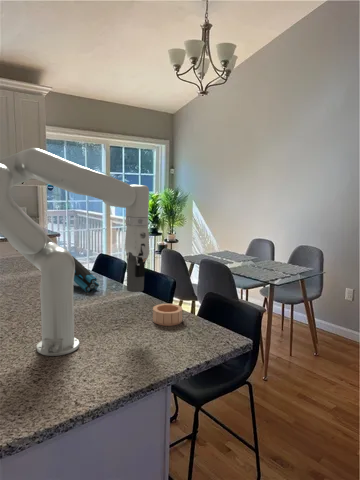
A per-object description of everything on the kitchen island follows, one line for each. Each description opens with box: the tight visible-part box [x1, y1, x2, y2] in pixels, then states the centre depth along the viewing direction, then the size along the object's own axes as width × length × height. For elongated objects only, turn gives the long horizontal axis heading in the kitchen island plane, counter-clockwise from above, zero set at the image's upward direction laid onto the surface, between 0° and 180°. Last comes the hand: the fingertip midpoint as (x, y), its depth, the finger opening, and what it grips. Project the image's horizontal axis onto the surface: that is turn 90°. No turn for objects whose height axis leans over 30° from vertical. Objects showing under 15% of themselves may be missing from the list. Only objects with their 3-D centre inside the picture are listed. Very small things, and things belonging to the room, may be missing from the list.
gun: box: [73, 256, 100, 293], centre depth 184 cm, size 8×26×15 cm, turn 46°
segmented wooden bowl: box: [152, 303, 183, 327], centre depth 140 cm, size 11×11×5 cm
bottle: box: [126, 252, 145, 293], centre depth 127 cm, size 6×6×15 cm
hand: (135, 274), depth 127 cm, fingers closed on bottle, 5 cm apart
